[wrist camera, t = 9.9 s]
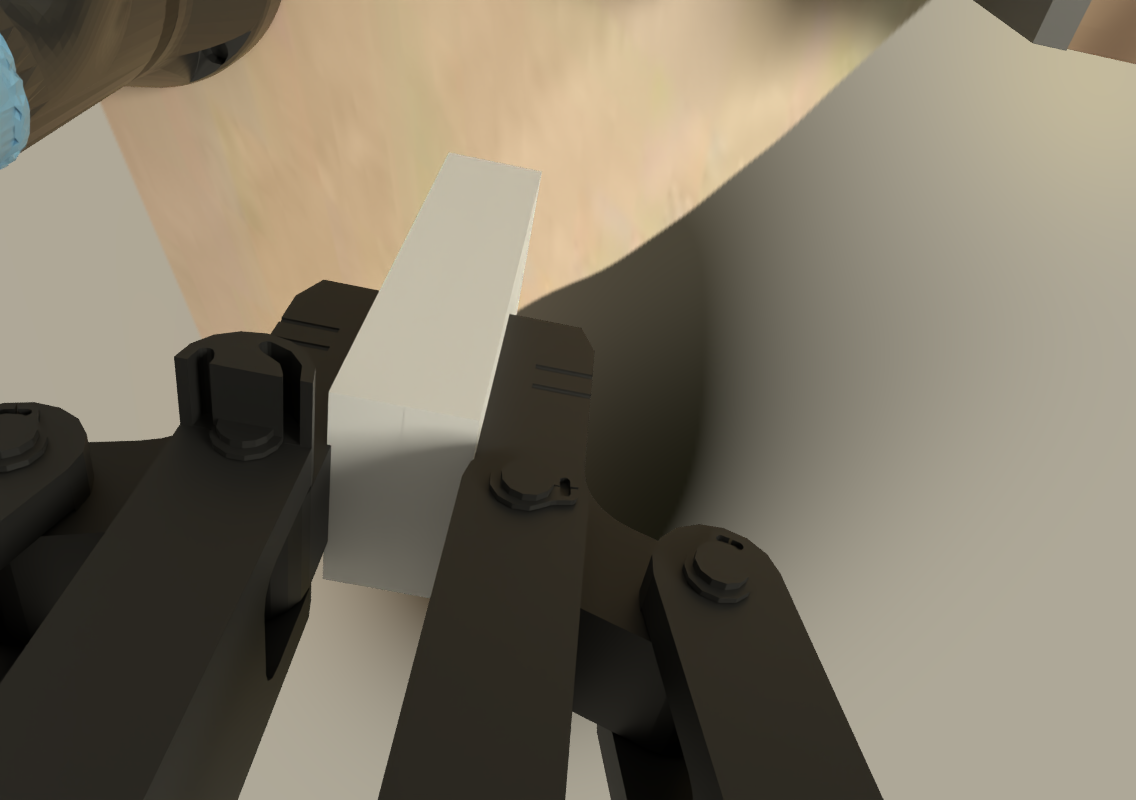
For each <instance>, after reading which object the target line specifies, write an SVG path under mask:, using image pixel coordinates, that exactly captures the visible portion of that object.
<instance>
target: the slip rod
mask: <svg viewBox="0 0 1136 800" xmlns="http://www.w3.org/2000/svg"><path fill="white" fill-rule="evenodd" d="M974 1H975V2H976V3H978V4H979V5H981V6H982V7H983V8H985V9H986V10H988V11H989V12H990V13H992V14H993V15H994V16H996V17H997V18H999V19H1000V20H1001V21H1003V22H1004V23H1005V24H1007V25H1008V26H1010V27H1011V28H1012V29H1014V30H1015V31H1017V32H1018V33H1019V34H1021V35H1022V36H1023V37H1025V38H1026V39H1028V40H1029V41H1030V42H1032V43H1034V44H1039V45H1043V46H1048V47H1052V48H1057V49H1062V50H1067V48H1068V46H1069V44H1070V42H1071V40H1072V38H1073V36H1074V34H1075V32H1076V30H1077V28H1078V26H1079V24H1080V22H1081V20H1082V18H1083V16H1084V14H1085V12H1086V10H1087V9H1088V7H1089V5H1090V3H1091V1H1092V0H974Z"/></svg>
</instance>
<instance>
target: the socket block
mask: <svg viewBox="0 0 1136 800" xmlns="http://www.w3.org/2000/svg"><path fill="white" fill-rule="evenodd" d="M1067 49H1070V50H1074V51H1079V52H1084V53H1088V54H1093V55H1098V56H1102V57H1106V58H1111V59H1115V60H1120V61H1125V62H1129V63H1133V64H1136V0H1092V1H1091V3H1090V5H1089V7H1088V9H1087V10H1086V12H1085V14H1084V16H1083V18H1082V20H1081V22H1080V24H1079V26H1078V28H1077V30H1076V32H1075V34H1074V36H1073V38H1072V40H1071V42H1070V44H1069V46H1068V48H1067Z"/></svg>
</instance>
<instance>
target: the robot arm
mask: <svg viewBox="0 0 1136 800" xmlns="http://www.w3.org/2000/svg"><path fill="white" fill-rule="evenodd" d="M280 2H281V0H0V169H2V168H4V167H7V166H8V164H9V163H11V162H13V161H15V160H16V158H17V157H18V155H19V153H21V152H22V151H24V150H26V149H27V148H29V147H30V146H32V145H33V144H35V143H36V142H38V141H40V140H41V139H43V138H44V137H46V136H47V135H49V134H50V133H52V132H53V131H55V130H57V129H58V128H60V127H61V126H63V125H64V124H66V123H67V122H69V121H71V120H72V119H74V118H75V117H77V116H78V115H80V114H81V113H82V112H84V111H86V110H87V109H89V108H91V107H92V106H94V105H95V104H97V103H98V102H100V101H102V100H103V99H105V98H106V97H108V96H109V95H111V94H112V93H114V92H116V91H117V90H119V89H120V88H122V87H123V86H131V87H155V88H164V87H176V86H183V85H187V84H191V83H195V82H198V81H201V80H204V79H207V78H209V77H211V76H213V75H215V74H217V73H219V72H221V71H223V70H224V69H225V68H227V67H228V66H230V65H231V64H233V63H234V62H235V61H237V60H238V59H240V58H241V57H242V56H244V55H245V54H246V53H247V52H248V51H250V50H251V49H252V48H253V47H254V46H255V45H256V44H257V43H258V41H259V40H260V39H261V38H262V37H263V35H264V34H265V32H266V31H267V29H268V28H269V26H270V24H271V23H272V21H273V19H274V17H275V15H276V12H277V10H278V8H279V5H280ZM541 174H542V171H537V170H532V169H527V168H522V167H517V166H513V165H508V164H503V163H498V162H493V161H488V160H484V159H479V158H474V157H469V156H464V155H459V154H455V153H450V152H449V153H448V155H447V157H446V159H445V161H444V163H443V165H442V167H441V169H440V171H439V173H438V175H437V177H436V179H435V181H434V183H433V185H432V187H431V189H430V191H429V193H428V195H427V197H426V199H425V201H424V203H423V205H422V207H421V209H420V211H419V213H418V215H417V217H416V219H415V221H414V223H413V225H412V227H411V229H410V231H409V233H408V235H407V237H406V239H405V241H404V243H403V245H402V247H401V249H400V251H399V253H398V255H397V257H396V259H395V261H394V263H393V265H392V267H391V269H390V271H389V273H388V275H387V277H386V279H385V281H384V283H383V285H382V287H381V289H380V291H378V290H373V289H368V288H363V287H358V286H353V285H348V284H343V283H338V282H333V281H328V280H322V281H321V282H319V283H317V284H315V285H314V286H312V287H310V288H308V289H307V290H305V291H303V292H301V293H300V294H298V295H296V296H295V298H294V299H293V301H292V302H291V304H290V305H289V307H288V308H287V310H286V312H285V313H284V315H283V316H282V320H281V322H278V324H277V325H276V327H275V328H274V330H273V331H272V333H271V334H266V333H254V332H242V331H240V332H232V333H224V334H216V335H212V336H209V337H207V338H204V339H201V340H199V341H196V342H193V343H191V344H189V345H188V346H187V347H186V348H184V349H183V350H182V351H181V352H179V353H178V354H177V355H176V356H174V361H175V372H176V381H177V393H178V403H179V414H180V425H179V427H178V428H177V430H176V431H175V433H174V434H173V436H169V437H165V438H162V439H151V440H142V441H117V442H116V441H115V442H88V439H87V434H86V432H85V430H84V428H83V426H82V425H81V423H80V421H79V419H78V418H76V417H74V416H73V415H71V414H70V413H68V412H66V411H64V410H63V409H61V408H58V407H53V406H49V405H45V404H39V403H35V402H29V403H2V404H0V800H238V798H239V795H240V792H241V790H242V787H243V785H244V782H245V779H246V777H247V774H248V772H249V769H250V767H251V764H252V762H253V759H254V756H255V754H256V751H257V748H258V746H259V744H260V741H261V738H262V736H263V733H264V731H265V728H266V726H267V723H268V720H269V718H270V715H271V713H272V710H273V707H274V705H275V702H276V700H277V697H278V695H279V692H280V690H281V687H282V684H283V682H284V679H285V677H286V674H287V672H288V669H289V666H290V664H291V661H292V658H293V656H294V653H295V651H296V648H297V646H298V643H299V641H300V638H301V636H302V633H303V630H304V628H305V625H306V622H307V620H308V617H309V610H310V603H311V582H312V579H313V576H314V574H315V572H316V569H317V567H318V564H319V562H320V559H321V557H322V554H323V552H324V555H323V556H324V559H323V579H327V580H332V581H338V582H343V583H349V584H355V585H360V586H366V587H371V588H376V589H382V590H388V591H394V592H399V593H404V594H410V595H416V596H421V597H427V598H430V601H429V605H428V608H427V612H426V616H425V620H424V624H423V628H422V632H421V635H420V639H419V643H418V647H417V651H416V655H415V659H414V662H413V666H412V670H411V674H410V678H409V682H408V685H407V689H406V693H405V697H404V701H403V705H402V708H401V712H400V716H399V720H398V724H397V728H396V732H395V735H394V739H393V743H392V747H391V751H390V755H389V759H388V763H387V766H386V770H385V774H384V778H383V782H382V786H381V789H380V793H379V797H378V800H565V794H566V782H567V770H568V757H569V744H570V732H571V718H572V711H573V712H575V713H577V714H578V715H580V716H582V717H584V718H586V719H588V720H590V721H592V722H594V723H596V724H597V735H598V739H599V744H600V749H601V754H602V758H603V763H604V768H605V773H606V777H607V782H608V787H609V792H610V797H611V800H883V798H882V796H881V793H880V791H879V789H878V787H877V785H876V782H875V780H874V778H873V776H872V774H871V772H870V769H869V767H868V765H867V763H866V760H865V758H864V756H863V754H862V752H861V749H860V747H859V746H858V743H857V741H856V739H855V736H854V734H853V732H852V730H851V728H850V726H849V723H848V721H847V719H846V717H845V714H844V712H843V710H842V708H841V706H840V703H839V701H838V699H837V697H836V695H835V692H834V690H833V688H832V686H831V684H830V682H829V679H828V677H827V675H826V673H825V671H824V668H823V666H822V664H821V662H820V660H819V657H818V655H817V653H816V651H815V649H814V647H813V644H812V642H811V640H810V638H809V636H808V633H807V631H806V629H805V627H804V625H803V622H802V620H801V618H800V616H799V614H798V611H797V610H796V607H795V605H794V603H793V600H792V598H791V596H790V594H789V592H788V589H787V587H786V585H785V583H784V581H783V578H782V576H781V574H780V573H779V571H778V570H777V568H776V567H775V566H774V564H773V562H772V561H771V560H770V558H769V557H768V555H767V554H766V553H765V552H763V551H762V550H761V549H759V548H758V547H757V546H756V545H755V544H753V543H752V542H751V541H750V540H748V539H747V538H745V537H742V536H740V535H738V534H735V533H733V532H731V531H729V530H726V529H724V528H719V527H713V526H707V525H700V524H698V525H691V526H684V527H678V528H676V529H674V530H672V531H671V532H669V533H668V534H666V535H665V536H663V537H661V538H660V540H659V541H657V540H655V539H653V538H650V537H648V536H646V535H644V534H641V533H639V532H637V531H635V530H632V529H631V528H629V527H627V526H625V525H624V524H622V523H620V522H618V521H616V520H615V519H614V518H612V517H611V516H610V515H609V514H608V513H606V512H605V511H604V510H603V509H601V507H600V506H599V505H598V503H597V502H596V501H595V500H594V499H593V497H592V496H591V494H590V492H589V489H588V487H587V485H586V480H585V459H586V447H587V434H588V423H589V412H590V396H591V388H592V375H593V364H594V350H593V348H592V346H591V344H590V343H589V341H588V339H587V337H586V336H585V334H584V332H583V330H582V328H579V327H573V326H569V325H563V324H558V323H553V322H548V321H543V320H538V319H533V318H528V317H523V316H518V315H517V309H518V304H519V298H520V292H521V287H522V281H523V275H524V270H525V264H526V258H527V253H528V247H529V241H530V236H531V230H532V225H533V219H534V213H535V208H536V202H537V196H538V191H539V185H540V179H541Z"/></svg>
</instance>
